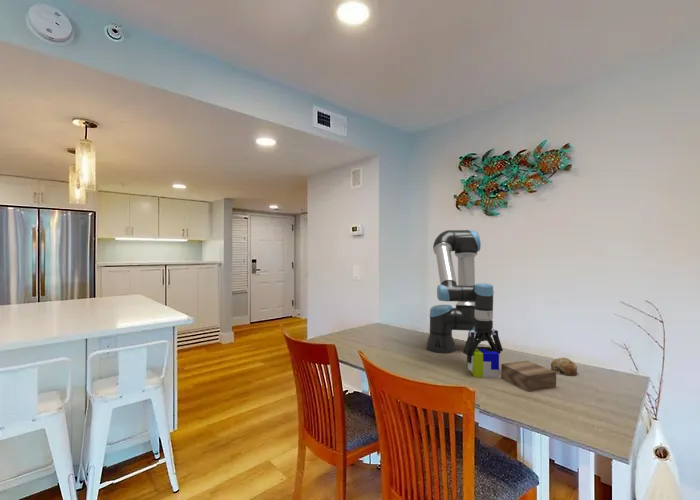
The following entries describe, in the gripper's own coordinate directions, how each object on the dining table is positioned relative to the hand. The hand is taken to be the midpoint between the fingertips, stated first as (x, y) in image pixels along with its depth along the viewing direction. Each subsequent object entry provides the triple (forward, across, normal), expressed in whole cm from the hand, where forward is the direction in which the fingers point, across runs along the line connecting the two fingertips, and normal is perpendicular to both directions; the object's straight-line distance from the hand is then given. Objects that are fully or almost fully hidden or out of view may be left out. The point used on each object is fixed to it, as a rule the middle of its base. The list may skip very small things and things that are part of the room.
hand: (482, 368), depth 149 cm
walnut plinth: (+2, +11, -14) cm, 18 cm away
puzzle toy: (+2, 0, 0) cm, 2 cm away
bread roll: (+2, +36, -9) cm, 37 cm away
